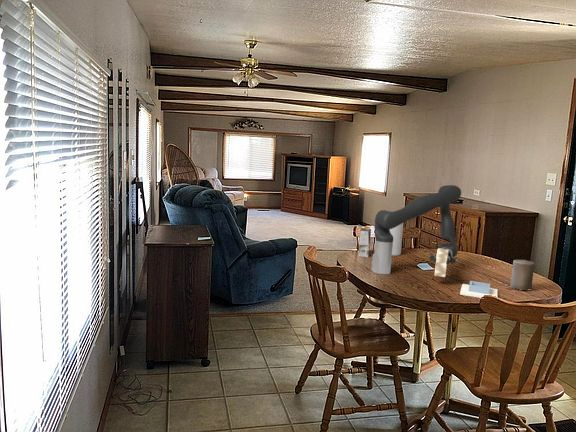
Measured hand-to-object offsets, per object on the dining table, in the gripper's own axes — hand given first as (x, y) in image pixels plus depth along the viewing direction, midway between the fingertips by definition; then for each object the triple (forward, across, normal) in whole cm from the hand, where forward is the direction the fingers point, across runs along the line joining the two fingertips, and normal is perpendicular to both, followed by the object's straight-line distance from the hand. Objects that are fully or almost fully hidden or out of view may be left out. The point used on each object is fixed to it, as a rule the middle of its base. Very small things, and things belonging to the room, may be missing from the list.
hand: (441, 261), depth 235 cm
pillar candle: (-19, +38, +12) cm, 44 cm away
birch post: (-3, 0, +8) cm, 8 cm away
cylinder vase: (-60, -36, +12) cm, 70 cm away
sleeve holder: (+2, +19, +12) cm, 22 cm away
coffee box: (-44, -49, +13) cm, 67 cm away
